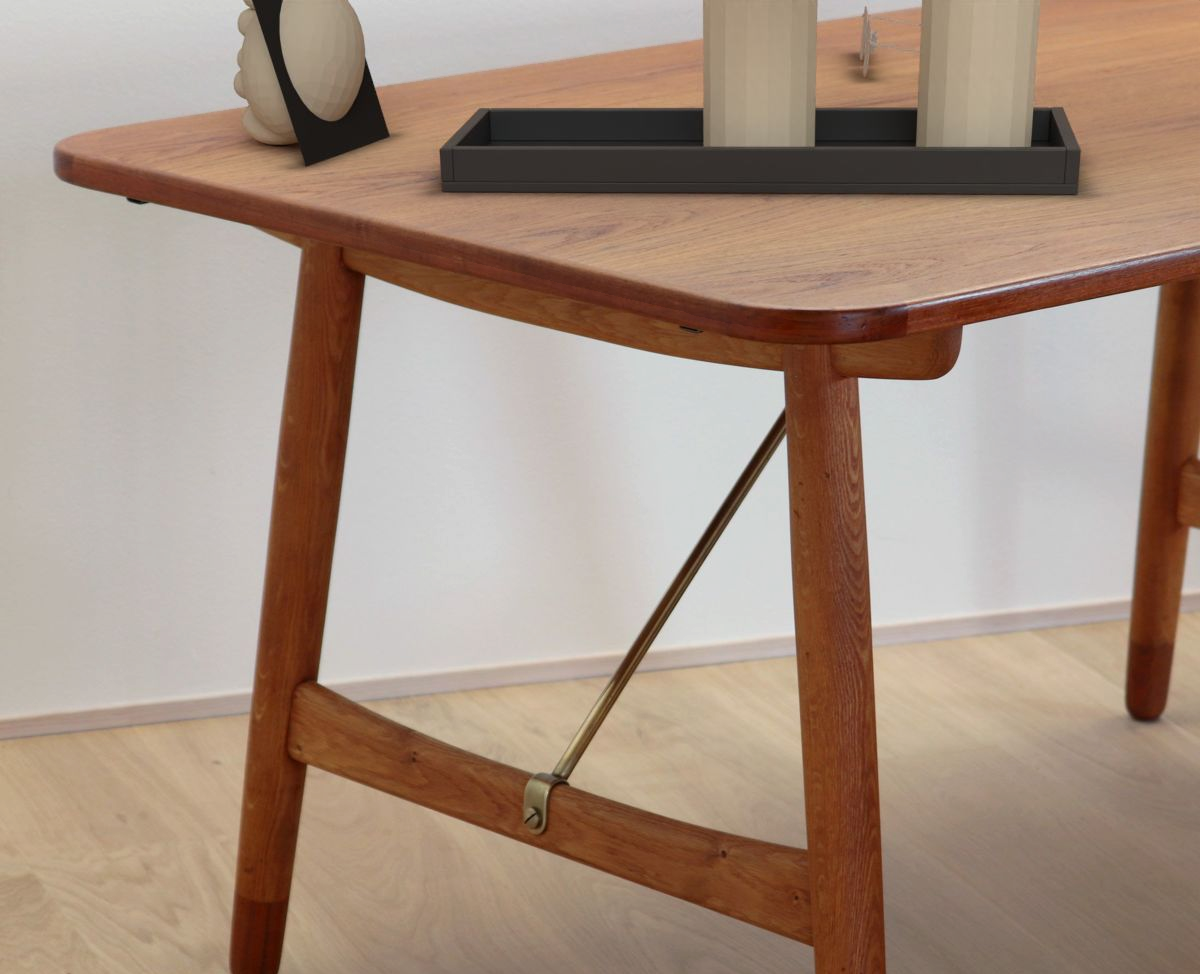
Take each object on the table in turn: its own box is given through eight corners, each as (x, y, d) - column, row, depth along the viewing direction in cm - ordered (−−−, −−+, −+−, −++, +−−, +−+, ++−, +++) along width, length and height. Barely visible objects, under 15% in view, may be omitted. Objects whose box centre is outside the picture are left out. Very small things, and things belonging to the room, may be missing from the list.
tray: (1060, 148, 123) (1063, 106, 122) (1077, 194, 111) (1081, 149, 110) (481, 147, 128) (479, 107, 127) (441, 191, 116) (438, 148, 115)
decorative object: (219, 189, 128) (306, 159, 136) (339, 157, 122) (423, 127, 130) (154, -5, 124) (247, -24, 132) (275, -47, 119) (364, -65, 127)
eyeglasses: (857, 52, 157) (863, 1, 156) (956, 58, 157) (963, 8, 155) (864, 83, 145) (870, 28, 143) (971, 90, 144) (978, 36, 143)
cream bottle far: (1051, 170, 117) (1072, -118, 110) (976, 188, 114) (992, -109, 107) (967, 153, 122) (982, -124, 115) (892, 170, 118) (902, -115, 111)
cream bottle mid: (836, 169, 119) (844, -114, 112) (755, 187, 115) (757, -105, 108) (762, 152, 124) (764, -120, 117) (681, 169, 120) (679, -111, 113)
